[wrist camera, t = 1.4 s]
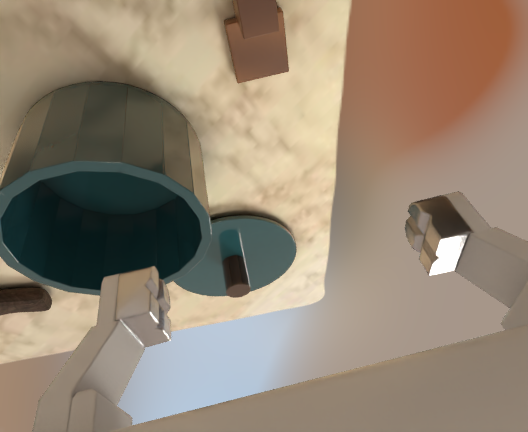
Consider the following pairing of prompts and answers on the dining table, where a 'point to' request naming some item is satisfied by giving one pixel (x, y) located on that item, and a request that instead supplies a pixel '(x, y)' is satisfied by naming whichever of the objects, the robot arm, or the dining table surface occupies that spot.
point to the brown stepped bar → (257, 39)
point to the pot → (103, 189)
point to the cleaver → (24, 300)
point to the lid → (241, 257)
